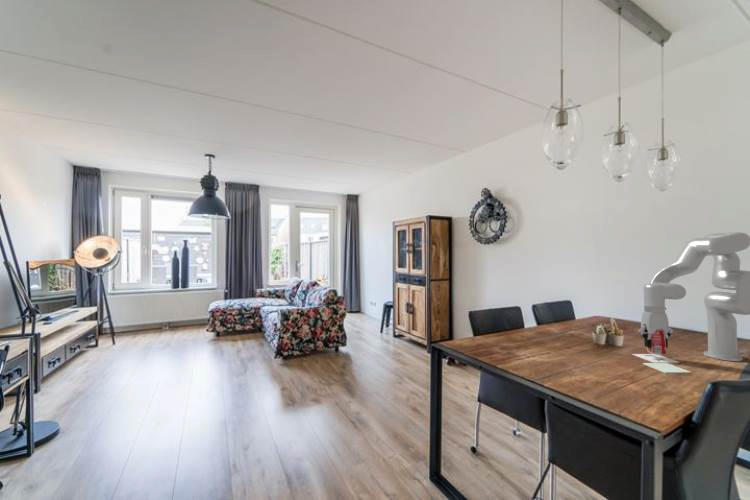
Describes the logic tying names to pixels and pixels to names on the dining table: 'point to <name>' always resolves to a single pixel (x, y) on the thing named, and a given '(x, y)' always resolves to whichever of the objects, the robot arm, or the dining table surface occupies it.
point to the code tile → (655, 358)
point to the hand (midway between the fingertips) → (656, 346)
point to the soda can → (658, 343)
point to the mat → (666, 368)
